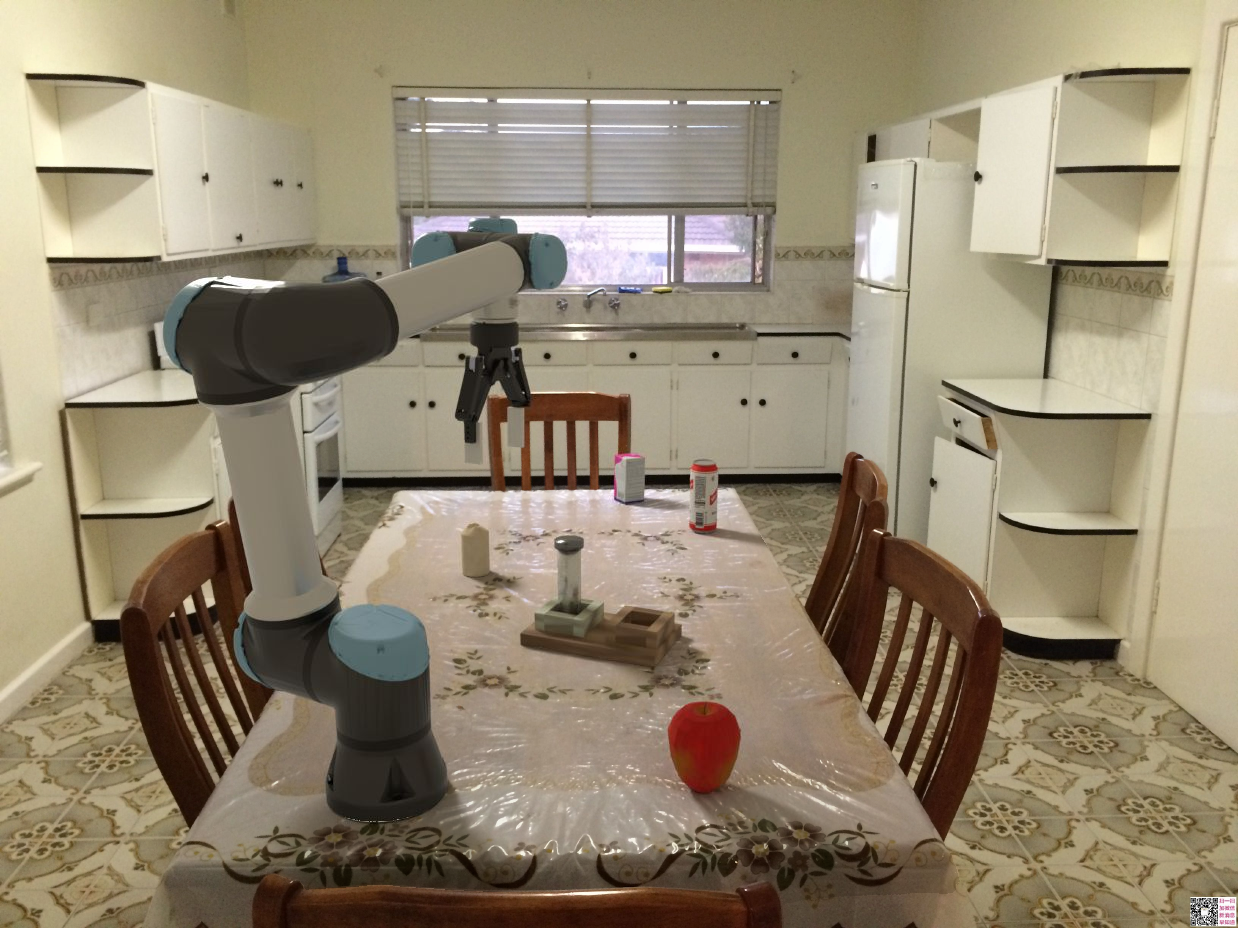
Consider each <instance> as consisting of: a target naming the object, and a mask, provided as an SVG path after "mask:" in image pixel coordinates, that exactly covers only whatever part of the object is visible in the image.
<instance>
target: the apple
mask: <svg viewBox="0 0 1238 928" xmlns="http://www.w3.org/2000/svg"><path fill="white" fill-rule="evenodd" d="M741 735H742V734H741V728H740V726H739V723H738V720H737V717H736V715H735V714H734V713H733V712H732V711H731V710H729V708H728V707H726V706H725V705H723V704H720V703H718V702H713V701H706V700H705V701H693V702H690V703H687V704H684V705H683V706H682V707H681V708H679V710H677V711H676V713H675V714H674V715H673V717H672V719H671V721H670V723H669V725H668V727H667V738H668V747H669V754H670V758H671V762H672V763H673V766H674V768H675V772H676V774H677V776H678V778H679V779H680V781H681V782H683V784H685V785H686V786H687V788H689V789H690V790H693V791H694V792H697V793H701V794H702V793H703V794H708V793H712V792H714V791H716V790H718V789H719V788H720V787H722V786H723V785H724V784H725V783H727V782H728V780H729V779H730V777H731V775H732V772H733V769H734V767H735V766H736V765H735V764H736V762H737V759H738V757H739V751H740V744H741V740H742V736H741Z"/></svg>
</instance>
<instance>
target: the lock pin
mask: <svg viewBox="0 0 1238 928" xmlns="http://www.w3.org/2000/svg"><path fill="white" fill-rule="evenodd" d="M553 543H554V544H553V545H554V546H553V547H554V549H555V550H557V551H556V552H557V556H556V557H557V563H556V564H557V595H558V612H561V613H567V614H573V615H578V614H580V613H581V599H582V549H584V548H585V539H584V537H581V536H579V535H573V534H570V535H568V534H566V535H560V536H557V537H556V538H554V541H553Z"/></svg>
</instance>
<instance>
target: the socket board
mask: <svg viewBox="0 0 1238 928" xmlns="http://www.w3.org/2000/svg"><path fill="white" fill-rule="evenodd" d="M675 614H676V613H675V612H670V611H665V610H657V609H652V608H645V607H639V606H632V605H624V606H623V607H622V608H621V609H620V610H618V612H617V613H610V612H606V611H605V602H604V601H600V600H599V601H598V600H592V599H586V598H581V613H580V614H578V615H573V614H567V613H561V612H558V594H556V595H555V596H554V597H553V598H551V599H550V600H549V601H547V602H546V603H545V604H544V605H543V606H541V607H540V608H539V609H537V610H536V611H535V612H534V621H533V622H532V623H531V624H530V625H529V626H528V627H526V628H525V629H523V630H522V631H521V632H520V634H519V636H520V637H519V639H520V640H519V641H520V645H523V646H529V647H534V648H540V649H545V650H552V651H557V652H561V653H566V654H567V653H568V654H573V655H580V656H584V657H585V656H586V657H592V658H598V659H602V660H610V661H614V662H620V663H625V664H631V665H636V666H637V665H638V666H644V667H648V668H655V667H656V666H657V665H658V663H659V662H660V661H661V660H662V659H663V657H664V656H665V655H666V654H667V653H668V652H669V651H670V649H672V647H673V646H674V645H675V644H676V642H677V641H678V640H679V639H680V637H682V636H683V627H682V626H683V624H681V623H676V622H675V617H676V615H675Z"/></svg>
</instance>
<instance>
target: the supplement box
mask: <svg viewBox="0 0 1238 928" xmlns="http://www.w3.org/2000/svg"><path fill="white" fill-rule="evenodd" d="M645 467H646V456H643V455H640V454H637V453H635V452H629V453H622V454H615V455H614V479H613V483H614V484H613V485H614V487H613V488H614V489H613V499H614V500H615V501H617V502H620V503H622V504H624V505H630V504H635V503H642V502H645V481H646V480H645V478H646V475H645V474H646V468H645Z"/></svg>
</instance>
